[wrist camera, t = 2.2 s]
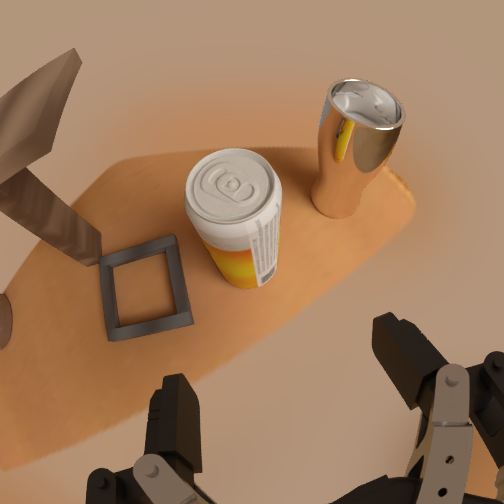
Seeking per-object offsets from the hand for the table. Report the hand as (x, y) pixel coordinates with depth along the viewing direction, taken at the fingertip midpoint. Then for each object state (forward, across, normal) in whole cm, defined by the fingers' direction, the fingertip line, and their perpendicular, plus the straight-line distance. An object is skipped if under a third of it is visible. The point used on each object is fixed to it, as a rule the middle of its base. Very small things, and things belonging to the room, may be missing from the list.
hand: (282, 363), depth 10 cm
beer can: (+19, 0, +5) cm, 20 cm away
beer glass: (+23, -12, +1) cm, 26 cm away
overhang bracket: (+21, +13, +3) cm, 25 cm away
